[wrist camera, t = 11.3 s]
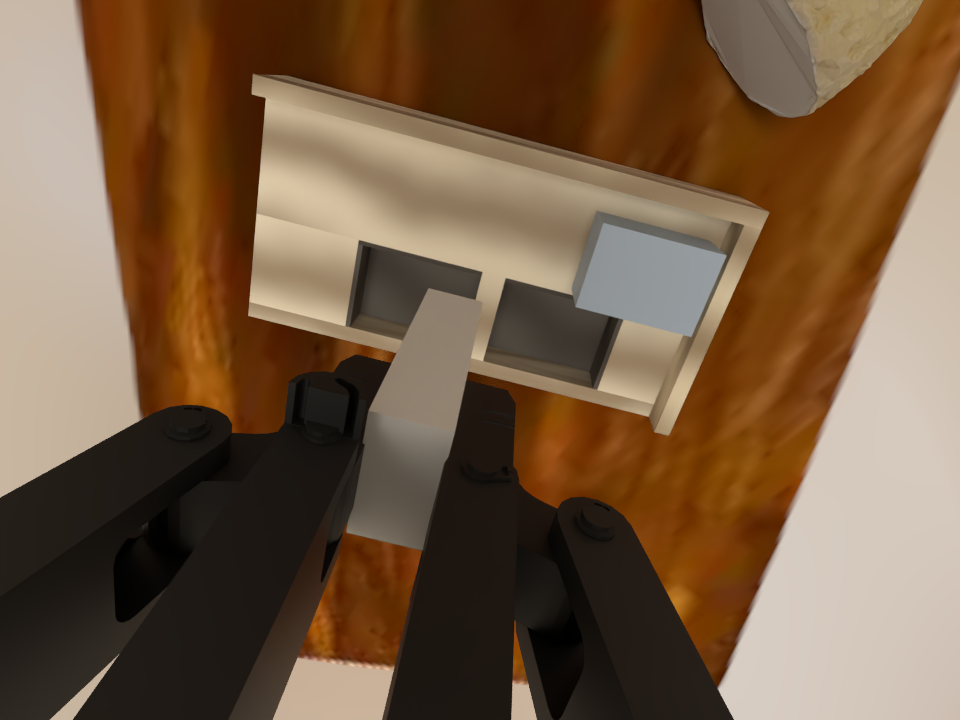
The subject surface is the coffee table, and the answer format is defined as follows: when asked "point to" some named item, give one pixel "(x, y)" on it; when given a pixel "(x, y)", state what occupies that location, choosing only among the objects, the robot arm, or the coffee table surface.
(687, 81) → the coffee table surface
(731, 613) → the coffee table surface
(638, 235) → the block
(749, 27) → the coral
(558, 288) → the box
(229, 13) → the coffee table surface
